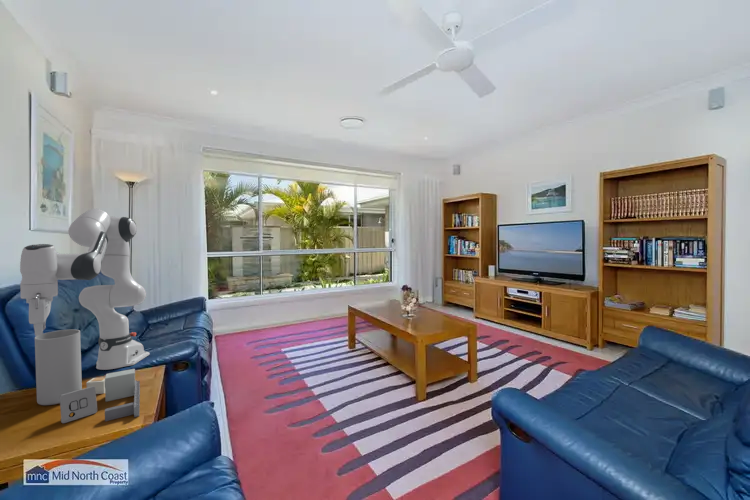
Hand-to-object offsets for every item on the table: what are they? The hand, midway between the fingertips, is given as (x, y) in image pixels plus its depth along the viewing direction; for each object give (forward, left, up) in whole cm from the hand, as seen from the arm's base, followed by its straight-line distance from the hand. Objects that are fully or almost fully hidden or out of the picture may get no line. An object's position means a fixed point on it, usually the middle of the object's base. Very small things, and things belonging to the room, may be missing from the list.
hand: (40, 332), depth 110 cm
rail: (-13, +23, -30) cm, 40 cm away
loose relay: (-19, +1, -30) cm, 36 cm away
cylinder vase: (-13, -9, -30) cm, 34 cm away
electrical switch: (-2, +10, -30) cm, 32 cm away
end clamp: (-3, +25, -30) cm, 39 cm away
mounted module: (-17, +13, -30) cm, 37 cm away
